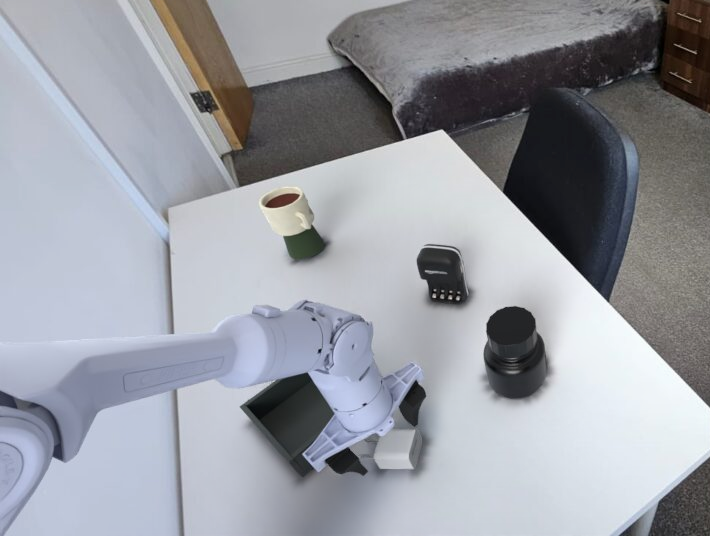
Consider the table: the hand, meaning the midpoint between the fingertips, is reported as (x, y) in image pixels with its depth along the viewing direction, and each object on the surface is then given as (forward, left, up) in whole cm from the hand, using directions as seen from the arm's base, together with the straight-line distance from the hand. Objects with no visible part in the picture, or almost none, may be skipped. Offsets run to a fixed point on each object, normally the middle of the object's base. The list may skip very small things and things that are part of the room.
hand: (387, 444), depth 60 cm
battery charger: (+23, +15, -3) cm, 28 cm away
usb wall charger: (0, 0, -3) cm, 3 cm away
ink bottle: (+19, -5, -3) cm, 20 cm away
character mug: (+15, +46, -3) cm, 48 cm away
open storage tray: (-3, +13, -3) cm, 14 cm away
